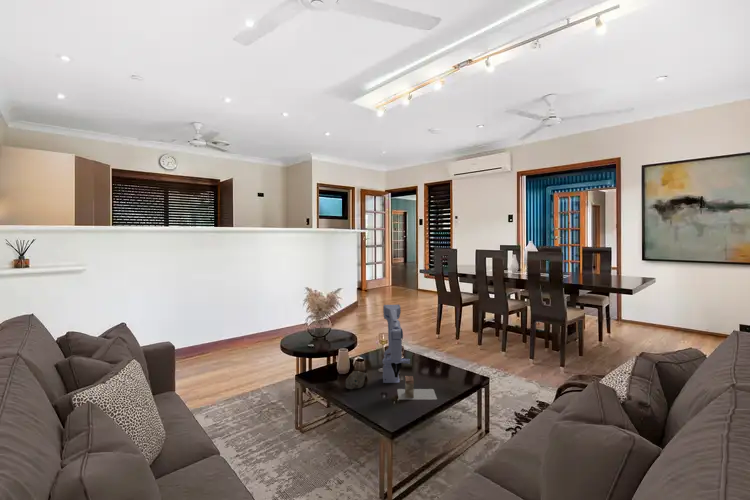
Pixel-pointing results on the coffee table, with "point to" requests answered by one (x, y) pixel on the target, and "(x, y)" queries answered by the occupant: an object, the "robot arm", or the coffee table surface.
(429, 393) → the grey mat
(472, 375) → the coffee table surface
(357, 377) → the rock
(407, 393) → the wooden block
